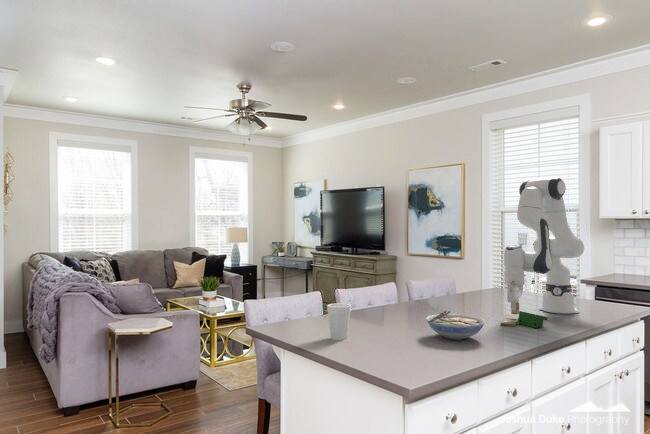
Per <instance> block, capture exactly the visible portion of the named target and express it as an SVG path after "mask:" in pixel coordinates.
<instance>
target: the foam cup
mask: <svg viewBox="0 0 650 434" xmlns="http://www.w3.org/2000/svg"><path fill="white" fill-rule="evenodd" d="M351 311H352V305H351V304H349V303H344V302H343V303H338V302H337V303H329V304H327V305H326V312H327V317H328V324H329V331H330V339H331V340H333V341H346V340H347V339H348V336H349V335H348V333H349V325H350V317H351Z"/></svg>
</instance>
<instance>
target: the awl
mask: <svg viewBox="0 0 650 434" xmlns="http://www.w3.org/2000/svg"><path fill="white" fill-rule="evenodd" d="M516 308H517V309H516V310H512V305H511V304H510V313H511V315H519V312H520V303H519V302H518V303H517V302H516Z"/></svg>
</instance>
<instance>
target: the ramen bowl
mask: <svg viewBox="0 0 650 434" xmlns="http://www.w3.org/2000/svg"><path fill="white" fill-rule="evenodd" d="M425 320H426V322H427V324H428V325H429V327H430V328H431V329H432V330H433V331H434V332H435V333H436V334H437V335H440V336H442V337H445V338H446V339H448V340H452V341H453V340H455V341H463V340H465V339H467V338H470V337H473V336H475V335H477V334H478V333H479V332H480V331H481V330H482V329H483V327H484V325H485V322H486V320H485V319H483V318H481V317H477V316H473V315H467V314H458V313H457V314H456V313H451V310H448V311H447V310H443V311H442V312H441V313H438V314H431V315H428V316H426V318H425Z"/></svg>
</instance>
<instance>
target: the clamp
mask: <svg viewBox="0 0 650 434" xmlns="http://www.w3.org/2000/svg"><path fill="white" fill-rule="evenodd" d="M517 319H518V324H520V325H524V326H527V327H531V328H535V329H541V328H542V327H543V324H544V321H548V317H547V316H543V315H539V314H536V313H535V314H534V313H531V312H526V311H523V310H519V314H518V318H517Z"/></svg>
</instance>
